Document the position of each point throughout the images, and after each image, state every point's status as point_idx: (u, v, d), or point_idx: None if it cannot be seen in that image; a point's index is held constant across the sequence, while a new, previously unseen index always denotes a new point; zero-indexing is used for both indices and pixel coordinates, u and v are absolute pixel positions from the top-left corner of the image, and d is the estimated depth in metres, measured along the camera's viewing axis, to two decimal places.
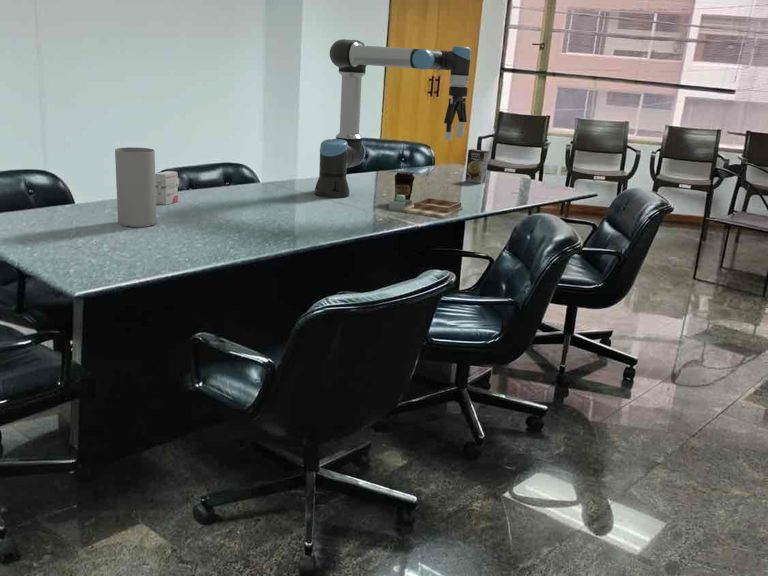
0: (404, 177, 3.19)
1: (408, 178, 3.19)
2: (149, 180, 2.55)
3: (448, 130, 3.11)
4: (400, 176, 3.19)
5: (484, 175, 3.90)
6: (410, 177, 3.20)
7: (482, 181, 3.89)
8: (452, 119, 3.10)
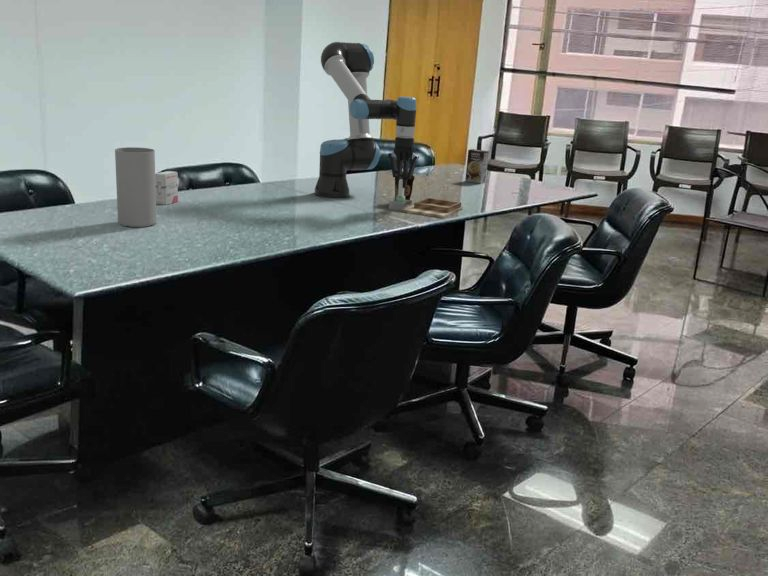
0: None
1: None
2: (149, 180, 2.55)
3: None
4: None
5: (484, 175, 3.90)
6: None
7: (482, 181, 3.89)
8: (397, 174, 3.09)
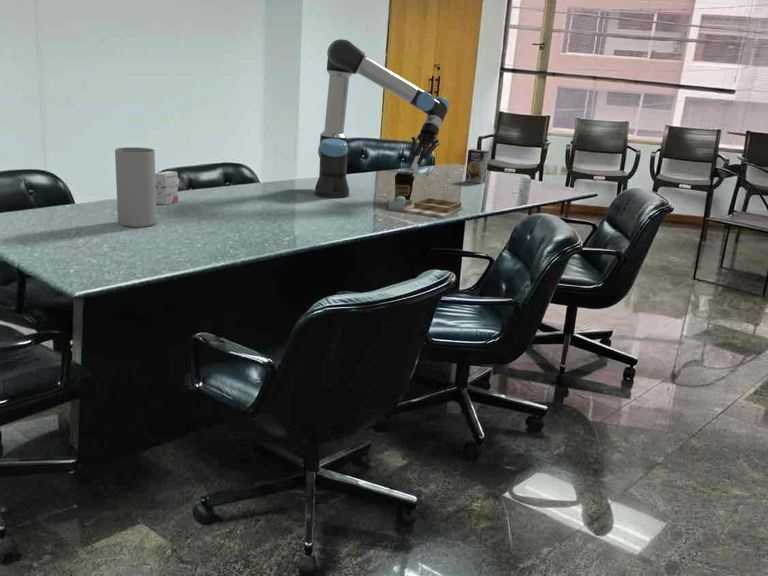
0: (404, 177, 3.19)
1: (408, 178, 3.19)
2: (149, 180, 2.55)
3: None
4: (400, 176, 3.19)
5: (484, 175, 3.90)
6: (410, 177, 3.20)
7: (482, 181, 3.89)
8: (415, 152, 3.32)
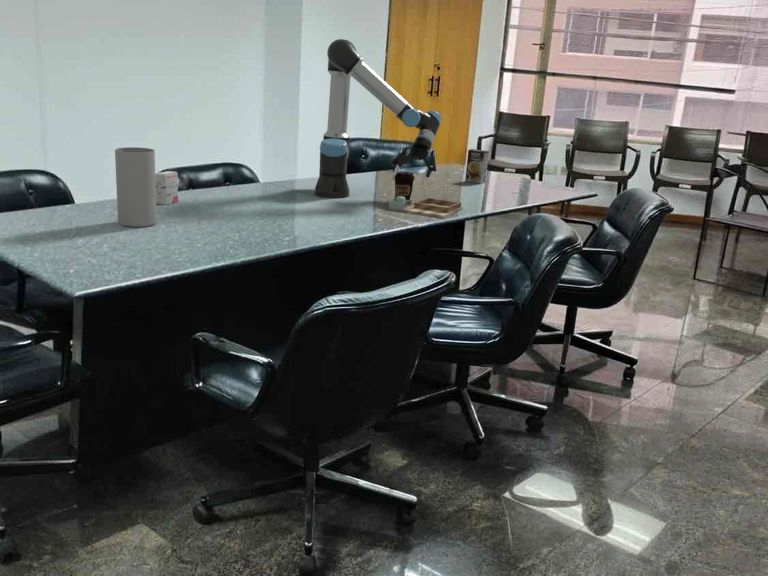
0: (404, 177, 3.19)
1: (408, 178, 3.19)
2: (149, 180, 2.55)
3: None
4: (400, 176, 3.19)
5: (484, 175, 3.90)
6: (410, 177, 3.20)
7: (482, 181, 3.89)
8: (398, 161, 3.32)
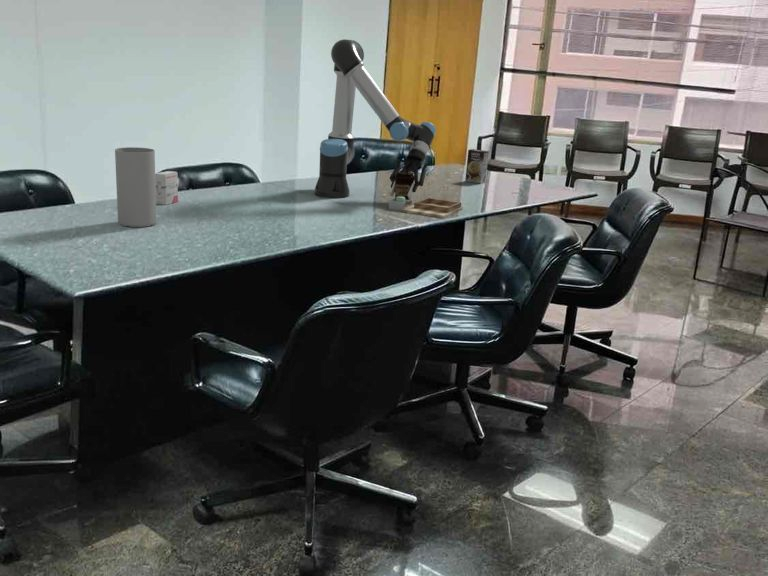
0: (404, 177, 3.19)
1: (408, 178, 3.19)
2: (149, 180, 2.55)
3: None
4: (400, 176, 3.19)
5: (484, 175, 3.90)
6: (410, 177, 3.20)
7: (482, 181, 3.89)
8: None
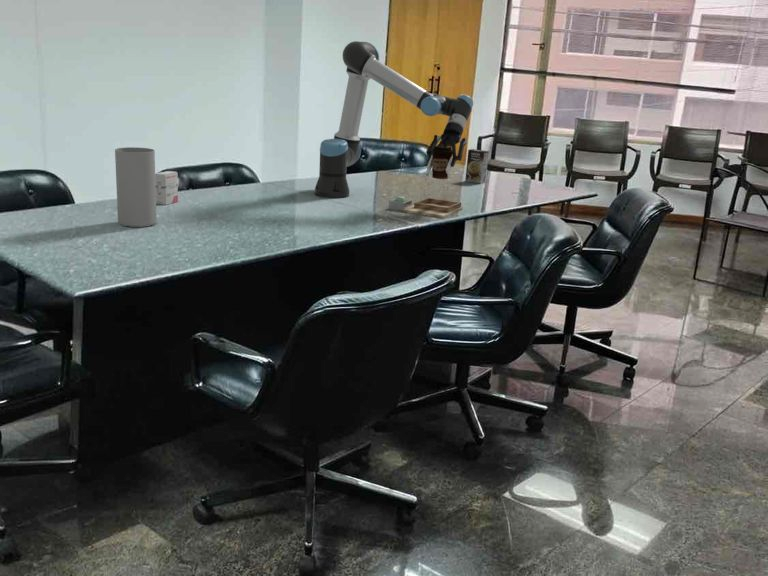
0: (443, 151, 3.06)
1: (447, 152, 3.06)
2: (149, 180, 2.55)
3: None
4: (438, 150, 3.06)
5: (484, 175, 3.90)
6: (449, 151, 3.07)
7: (482, 181, 3.89)
8: (432, 151, 3.13)
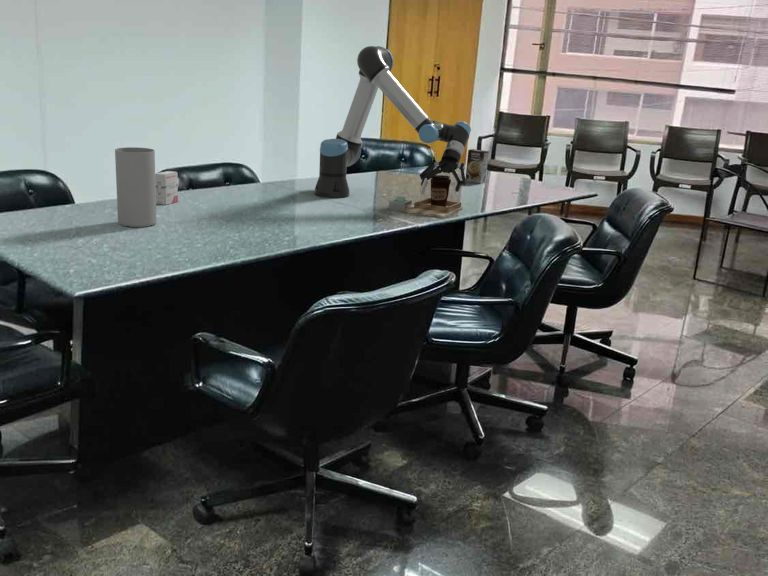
0: (441, 180, 3.09)
1: (445, 181, 3.10)
2: (149, 180, 2.55)
3: None
4: (437, 179, 3.10)
5: (484, 175, 3.90)
6: (447, 180, 3.10)
7: (482, 181, 3.89)
8: (426, 174, 3.18)
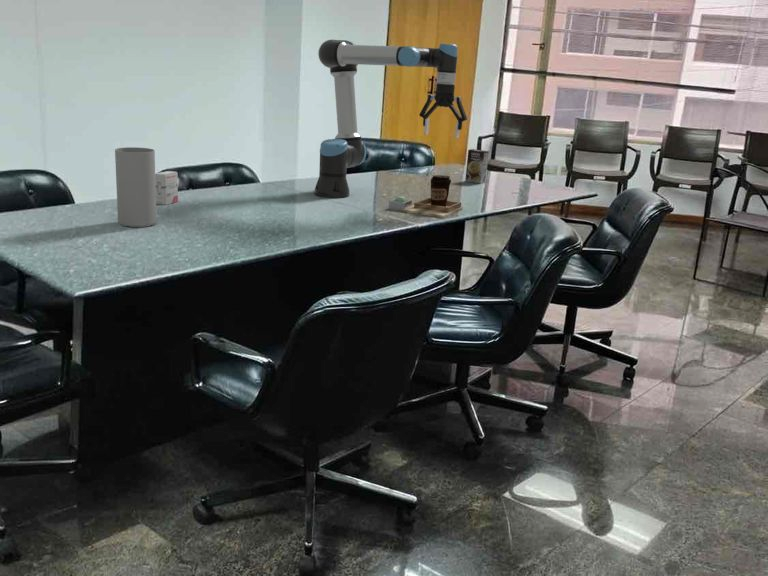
0: (441, 181, 3.09)
1: (445, 182, 3.10)
2: (149, 180, 2.55)
3: None
4: (437, 180, 3.10)
5: (484, 175, 3.90)
6: (447, 181, 3.10)
7: (482, 181, 3.89)
8: (425, 114, 3.19)
